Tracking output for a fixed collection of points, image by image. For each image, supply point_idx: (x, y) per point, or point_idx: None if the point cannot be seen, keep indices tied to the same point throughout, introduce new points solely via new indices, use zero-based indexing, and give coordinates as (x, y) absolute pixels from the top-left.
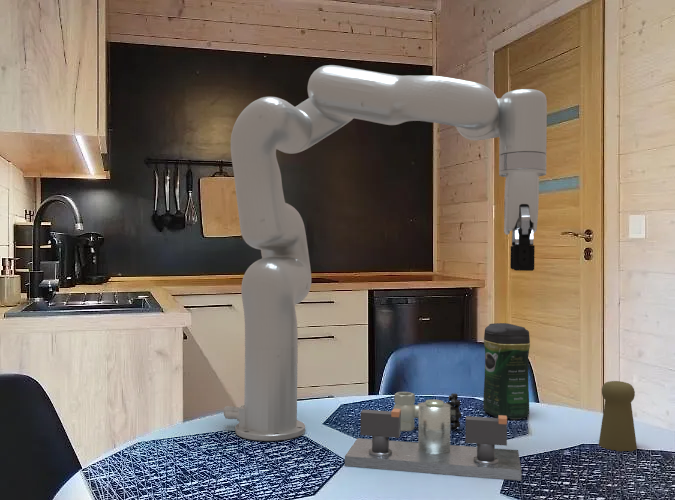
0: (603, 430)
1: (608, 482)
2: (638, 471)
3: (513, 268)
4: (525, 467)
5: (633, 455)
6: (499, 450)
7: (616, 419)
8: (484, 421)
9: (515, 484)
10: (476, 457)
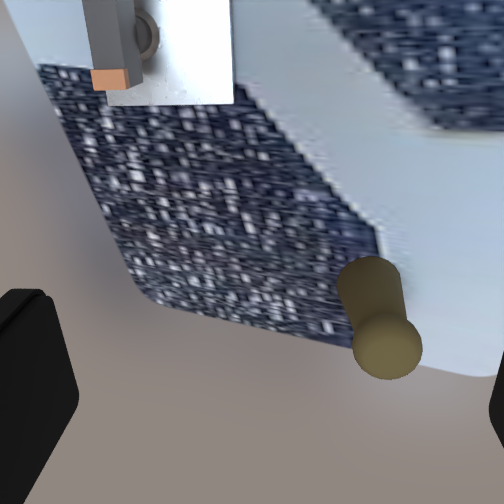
0: (364, 276)
1: (162, 237)
2: (232, 286)
3: (11, 290)
4: (192, 113)
5: (317, 296)
6: (218, 63)
7: (351, 308)
8: (88, 33)
9: (93, 92)
10: (137, 13)
